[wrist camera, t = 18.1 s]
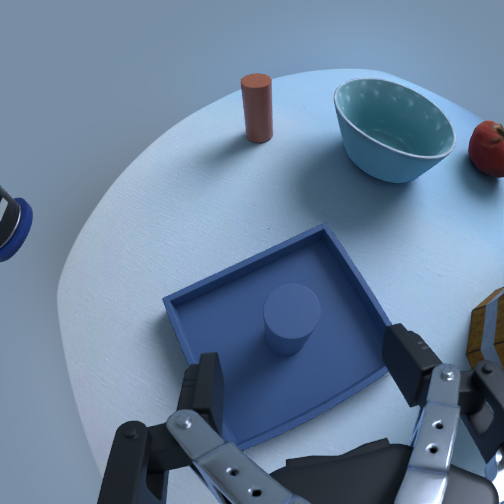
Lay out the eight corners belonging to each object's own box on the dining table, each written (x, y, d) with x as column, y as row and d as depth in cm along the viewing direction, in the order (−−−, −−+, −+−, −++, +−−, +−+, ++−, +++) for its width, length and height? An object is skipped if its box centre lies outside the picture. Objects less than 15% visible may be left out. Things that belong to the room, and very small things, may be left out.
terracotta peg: (253, 146, 38) (248, 90, 30) (242, 131, 39) (235, 78, 31) (277, 137, 38) (277, 83, 30) (265, 123, 40) (262, 70, 32)
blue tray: (236, 448, 22) (232, 454, 20) (171, 306, 29) (161, 298, 26) (398, 359, 25) (410, 355, 22) (321, 235, 31) (325, 221, 29)
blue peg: (276, 363, 25) (279, 349, 17) (258, 328, 27) (252, 298, 18) (312, 344, 26) (331, 321, 17) (293, 310, 27) (303, 274, 19)
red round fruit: (493, 152, 37) (512, 120, 29) (510, 192, 33) (534, 161, 26) (454, 139, 38) (471, 103, 31) (470, 180, 34) (494, 144, 27)
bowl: (348, 108, 41) (356, 64, 34) (439, 151, 36) (459, 111, 29) (306, 167, 36) (311, 116, 28) (421, 225, 31) (450, 181, 24)
